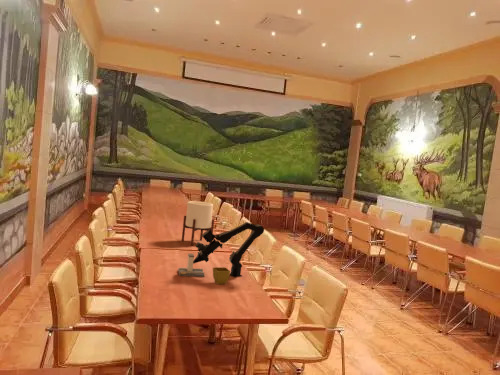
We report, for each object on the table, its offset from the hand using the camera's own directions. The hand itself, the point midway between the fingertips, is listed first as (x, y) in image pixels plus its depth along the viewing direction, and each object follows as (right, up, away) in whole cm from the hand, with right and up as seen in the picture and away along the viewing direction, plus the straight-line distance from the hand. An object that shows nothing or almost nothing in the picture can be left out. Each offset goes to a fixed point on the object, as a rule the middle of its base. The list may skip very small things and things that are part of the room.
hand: (193, 262), depth 278 cm
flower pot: (+19, -11, -13) cm, 25 cm away
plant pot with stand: (-10, 0, +98) cm, 98 cm away
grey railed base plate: (-1, -7, 0) cm, 7 cm away
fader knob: (-2, -5, 0) cm, 6 cm away
